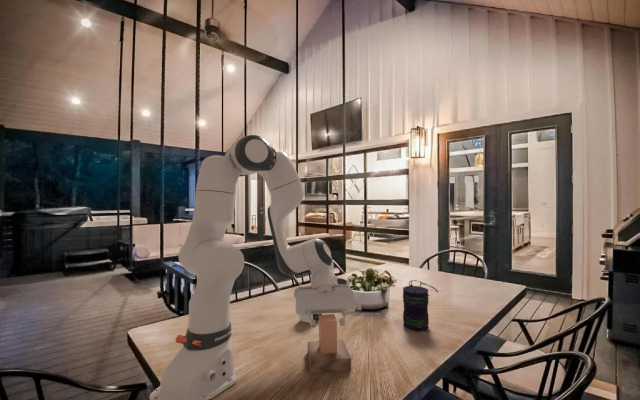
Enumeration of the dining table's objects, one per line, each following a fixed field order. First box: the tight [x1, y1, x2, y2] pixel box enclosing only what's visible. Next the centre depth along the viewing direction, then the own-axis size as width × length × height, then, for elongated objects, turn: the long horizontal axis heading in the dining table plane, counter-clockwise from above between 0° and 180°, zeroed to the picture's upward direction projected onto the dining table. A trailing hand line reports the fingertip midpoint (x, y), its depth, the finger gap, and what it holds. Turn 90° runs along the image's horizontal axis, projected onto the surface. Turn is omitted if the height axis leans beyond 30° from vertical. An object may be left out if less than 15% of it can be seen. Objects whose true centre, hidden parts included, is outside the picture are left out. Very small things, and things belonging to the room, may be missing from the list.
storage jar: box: [402, 285, 430, 333], centre depth 116 cm, size 10×10×15 cm
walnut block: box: [307, 339, 352, 374], centre depth 91 cm, size 12×12×4 cm
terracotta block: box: [318, 313, 338, 354], centre depth 91 cm, size 5×5×10 cm
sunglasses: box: [408, 279, 439, 297], centre depth 164 cm, size 14×15×5 cm
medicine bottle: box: [299, 314, 323, 324], centre depth 123 cm, size 7×7×12 cm
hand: (328, 325), depth 90 cm, fingers open, 8 cm apart
